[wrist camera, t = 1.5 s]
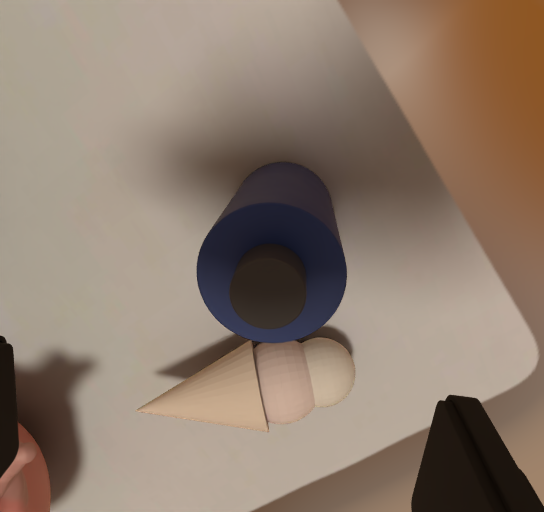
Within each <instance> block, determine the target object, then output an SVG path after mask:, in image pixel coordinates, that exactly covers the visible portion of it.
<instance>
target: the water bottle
mask: <svg viewBox="0 0 544 512" xmlns="http://www.w3.org/2000/svg"><path fill="white" fill-rule="evenodd" d="M346 280H347V267H346V262H345V256H344V252H343V248H342V244H341V240H340V236H339V231H338V227H337V223H336V219H335V215H334V211H333V206H332V202H331V198H330V195H329V192H328V190H327V188H326V186H325V185H324V183H323V182H322V181H321V179H320V178H319V177H318V176H317V175H316V174H314V173H313V172H312V171H310V170H309V169H307V168H305V167H303V166H301V165H298V164H294V163H288V162H278V163H272V164H268V165H265V166H263V167H261V168H259V169H257V170H256V171H254V172H253V173H252V174H250V175H249V176H248V177H247V178H246V180H245V181H244V182H243V183H242V185H241V186H240V188H239V189H238V191H237V192H236V194H235V195H234V197H233V198H232V199H231V201H230V202H229V204H228V205H227V207H226V208H225V210H224V211H223V213H222V214H221V216H220V217H219V218H218V220H217V221H216V223H215V224H214V226H213V227H212V229H211V230H210V232H209V233H208V235H207V236H206V238H205V240H204V242H203V244H202V246H201V249H200V252H199V256H198V261H197V281H198V286H199V290H200V293H201V296H202V298H203V300H204V302H205V304H206V306H207V307H208V309H209V311H210V312H211V313H212V314H213V316H214V317H215V318H216V319H217V320H218V321H219V322H220V323H221V324H222V325H224V326H225V327H226V328H227V329H229V330H230V331H232V332H234V333H235V334H237V335H239V336H242V337H244V338H247V339H250V340H253V341H258V342H263V343H284V342H290V341H294V340H297V339H300V338H303V337H305V336H307V335H309V334H311V333H313V332H314V331H316V330H317V329H319V328H320V327H321V326H323V325H324V324H325V323H326V322H327V321H328V320H329V319H330V318H331V317H332V315H333V314H334V313H335V311H336V310H337V308H338V306H339V304H340V303H341V300H342V298H343V295H344V291H345V287H346Z"/></svg>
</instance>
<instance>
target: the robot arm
mask: <svg viewBox="0 0 544 512" xmlns="http://www.w3.org/2000/svg"><path fill="white" fill-rule="evenodd" d="M18 449H19V433H18V418H17V402H16V386H15V370H14V354H13V347H12V345H11V344H8V343H7V342H6V340H5V338H4V337H3V336H0V478H1V477H2V476H3V474H4V473H5V472H6V470H7V469H8V468H9V467H10V465H11V464H12V463H13V461H14V460H15V458H16V455H17V453H18ZM411 506H412V507H411V508H412V512H544V506H543V505H542V503H541V501H540V500H539V498H538V496H537V494H536V493H535V491H534V489H533V488H532V486H531V484H530V483H529V481H528V479H527V477H526V476H525V474H524V473H523V472H522V471H521V470H520V469H519V468H518V467H517V465H516V463H515V461H514V460H513V458H512V456H511V455H510V453H509V451H508V449H507V448H506V446H505V444H504V443H503V441H502V439H501V437H500V436H499V434H498V432H497V431H496V429H495V427H494V425H493V424H492V422H491V420H490V418H489V417H488V415H487V413H486V412H485V410H484V408H483V407H482V405H481V403H480V401H479V400H478V399H476V398H471V397H464V396H456V395H449V396H448V397H447V398H446V400H445V401H442V400H440V401H439V402H438V403H437V406H436V409H435V413H434V417H433V420H432V424H431V428H430V432H429V435H428V440H427V443H426V447H425V450H424V454H423V458H422V462H421V465H420V469H419V473H418V477H417V481H416V484H415V488H414V492H413V496H412V503H411Z"/></svg>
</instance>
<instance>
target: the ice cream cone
mask: <svg viewBox="0 0 544 512" xmlns="http://www.w3.org/2000/svg"><path fill="white" fill-rule="evenodd" d="M354 380H355V365H354V362H353V359H352V357H351V355H350V353H349V352H348V351H347V350H346V349H345V347H343V346H342V345H341V344H340V343H338V342H336V341H334V340H331V339H328V338H321V337H320V338H313V339H309V340H307V341H305V342H303V343H299V342H297V341H290V342H284V343H261V344H259V345H258V346H256V347H255V348H254V347H253V343H252V340H250V341H248V342H246V343H245V344H243V345H241V346H240V347H238V348H237V349H235V350H233V351H232V352H230V353H228V354H227V355H225V356H224V357H222V358H220V359H219V360H217V361H215V362H214V363H212V364H211V365H209V366H207V367H206V368H204V369H202V370H201V371H199V372H198V373H196V374H194V375H193V376H191V377H189V378H188V379H186V380H185V381H183V382H181V383H180V384H178V385H176V386H175V387H173V388H172V389H170V390H168V391H167V392H165V393H163V394H162V395H160V396H159V397H157V398H155V399H154V400H152V401H150V402H149V403H147V404H146V405H144V406H142V407H141V408H139V409H137V410H136V411H138V412H144V413H150V414H157V415H163V416H170V417H176V418H182V419H189V420H195V421H201V422H208V423H214V424H220V425H227V426H233V427H240V428H246V429H252V430H259V431H265V432H269V427H268V422H270V423H274V424H288V423H292V422H295V421H298V420H300V419H302V418H303V417H305V416H306V415H307V414H309V413H310V412H311V411H312V410H313V408H314V407H329V406H332V405H335V404H337V403H339V402H341V401H342V400H343V399H344V398H345V397H347V395H348V394H349V392H350V391H351V389H352V387H353V384H354Z"/></svg>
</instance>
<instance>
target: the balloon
mask: <svg viewBox="0 0 544 512" xmlns="http://www.w3.org/2000/svg"><path fill="white" fill-rule="evenodd" d="M18 433H19V449H18V453H17V455H16V458H15V460H14V461H13V463H12V464H11V465H10V467H9V468H8V469H7V470H6V472H5V473H4V474H3V476H2V477H1V478H0V512H50V500H51V490H50V479H49V474H48V469H47V465H46V462H45V459H44V457H43V455H42V452H41V450H40V448H39V446H38V445H37V443H36V441H35V440H34V438H33V437H32V436H31V435H30V434H29V432H28V431H27V430H26V429H25V428H24V427H23V426H22V425H21V424H20V423H19V422H18Z"/></svg>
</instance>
